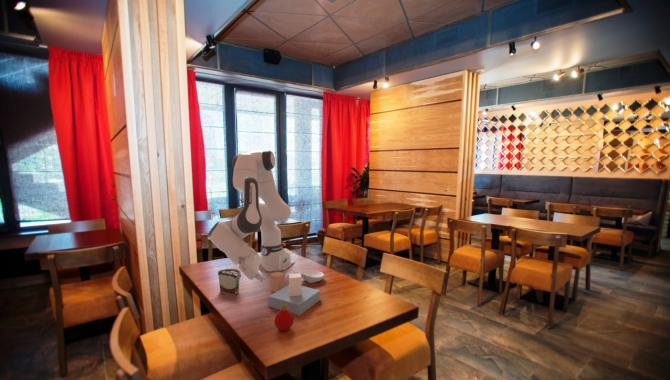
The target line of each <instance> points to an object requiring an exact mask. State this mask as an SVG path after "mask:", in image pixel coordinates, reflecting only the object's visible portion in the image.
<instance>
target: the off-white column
mask: <svg viewBox="0 0 670 380" xmlns="http://www.w3.org/2000/svg"><path fill="white" fill-rule="evenodd" d="M302 279H303V278H302V277H301V274H300V273H293V274H289V277H288V285H289V295H290V296H299V295H301V286H302Z"/></svg>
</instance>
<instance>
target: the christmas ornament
mask: <svg viewBox="0 0 670 380" xmlns="http://www.w3.org/2000/svg"><path fill="white" fill-rule="evenodd" d="M294 318H295V317H294V314H292V313H291V312H290V311H288V310H287V306H285V305H284V303H283V306H281V310H278V312H277V313H276V314H275V316H274V320H273V323H274V324H273V325H274V326H275V328H276V329H278V330H279V331H281V332H285V331H288V330H290V329H291V328H292V326H293V325H294V322H295V321H294Z"/></svg>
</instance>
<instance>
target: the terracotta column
mask: <svg viewBox="0 0 670 380" xmlns="http://www.w3.org/2000/svg"><path fill="white" fill-rule="evenodd" d="M285 274H286V273H284V272H280V271H274V272H273V273H270V274H269V288H270V289H269V291H270V292H273V293H275V292H277V291H279V290H280V289H282V288H284V287H286V281H285Z"/></svg>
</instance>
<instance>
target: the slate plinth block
mask: <svg viewBox="0 0 670 380" xmlns="http://www.w3.org/2000/svg"><path fill="white" fill-rule="evenodd" d="M267 297H268V298H267V299H268V307H269V308H273V309H275V308H276V309H277V310H279V309H280V310H279V311H281V306H283V303H284V305H285V306H287V310H288V311H290V312H291V313H294V314H293V315H295V314H297V315H296V316H299V315H300V314H301V315H302V314H304V313H305V312H306V311H308V310H309V309H310V308H311V306H312V307H313V306H314V305H315V303H316V304H317V303H318V302H319V300H320V301H321V290H320V289H316V288H313V287H312V288H311V287H308V286H304V285H301V295H299V296H290V295H289V284H288V285H285V287H284V288H282V289H280V290H279V291H277V292H273V293H272V294H270V295H268V296H267ZM307 309H308V310H307ZM303 312H304V313H303ZM301 315H300V316H301Z"/></svg>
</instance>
